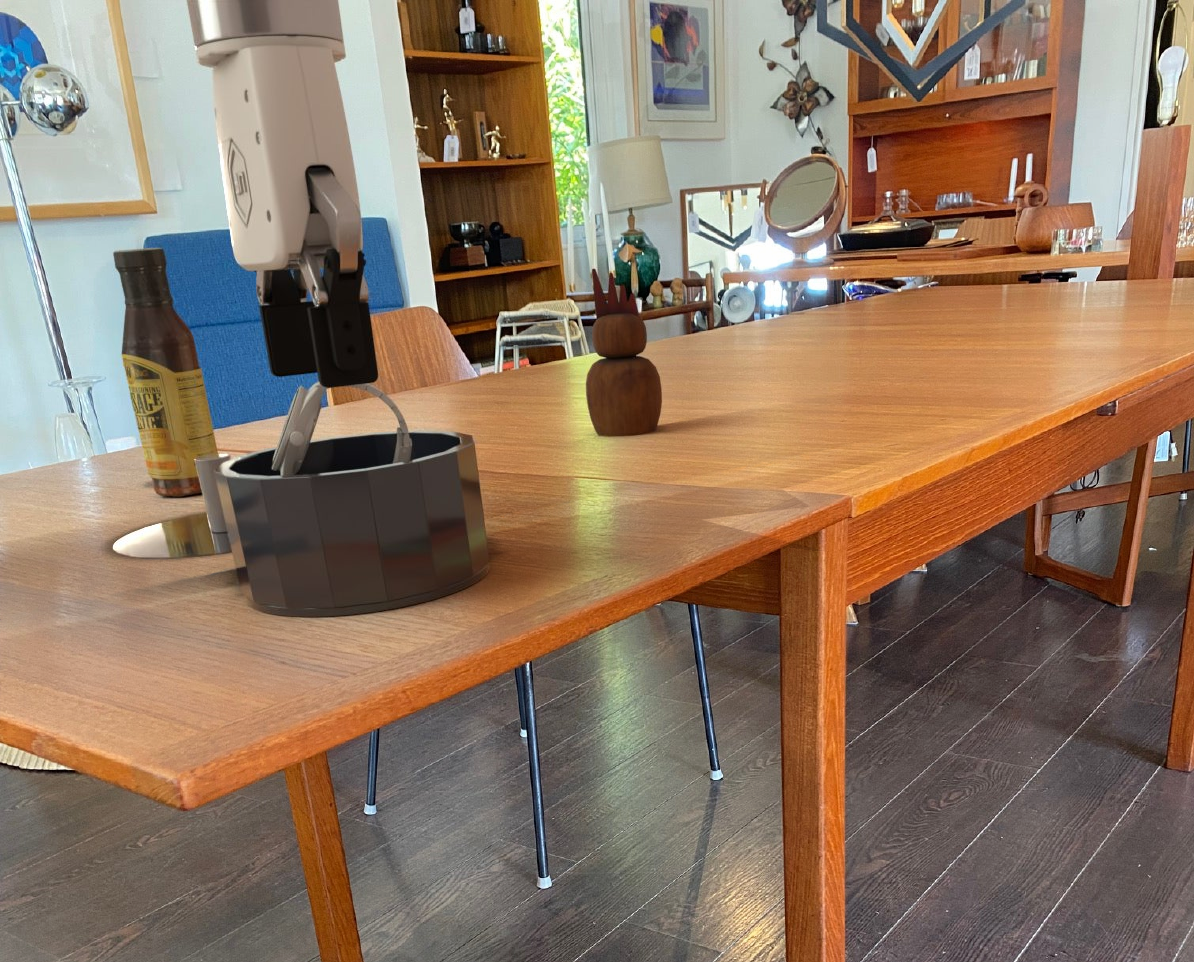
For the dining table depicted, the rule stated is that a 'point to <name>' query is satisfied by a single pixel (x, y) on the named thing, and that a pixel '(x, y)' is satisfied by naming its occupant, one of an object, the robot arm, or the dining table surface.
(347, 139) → the robot arm
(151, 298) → the sauce bottle
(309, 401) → the watch
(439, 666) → the dining table surface
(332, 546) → the dark grey round bin
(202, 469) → the lid
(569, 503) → the dining table surface
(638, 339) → the wooden figurine
